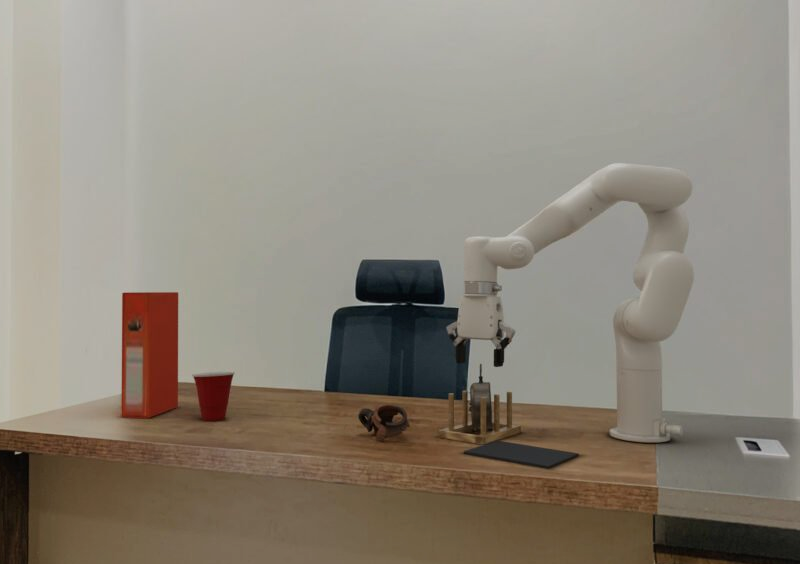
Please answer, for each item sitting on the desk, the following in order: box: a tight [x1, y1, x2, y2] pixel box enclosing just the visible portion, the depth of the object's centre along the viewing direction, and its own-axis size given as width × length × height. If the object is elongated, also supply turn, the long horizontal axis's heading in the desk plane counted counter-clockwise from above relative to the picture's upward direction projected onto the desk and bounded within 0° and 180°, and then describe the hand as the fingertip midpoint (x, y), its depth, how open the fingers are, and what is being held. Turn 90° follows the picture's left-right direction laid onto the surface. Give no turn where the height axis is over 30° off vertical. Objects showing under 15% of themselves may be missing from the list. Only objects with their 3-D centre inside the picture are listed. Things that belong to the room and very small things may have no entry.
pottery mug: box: [357, 403, 410, 442], centre depth 159 cm, size 12×10×8 cm
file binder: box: [120, 291, 179, 419], centre depth 190 cm, size 8×17×32 cm, turn 168°
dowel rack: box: [438, 390, 522, 445], centre depth 163 cm, size 11×18×10 cm, turn 139°
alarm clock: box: [468, 363, 494, 434], centre depth 163 cm, size 11×5×16 cm, turn 168°
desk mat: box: [463, 440, 580, 470], centre depth 143 cm, size 18×14×1 cm
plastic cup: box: [191, 371, 235, 422], centre depth 180 cm, size 11×11×12 cm
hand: (479, 364), depth 163 cm, fingers open, 9 cm apart
